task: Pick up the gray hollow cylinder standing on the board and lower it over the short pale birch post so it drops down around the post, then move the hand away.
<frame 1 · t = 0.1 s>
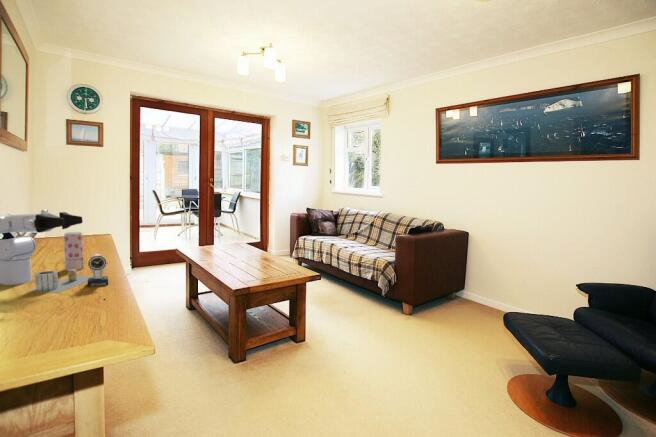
hand: (73, 220, 114), 22 cm above the table, tool horizontal, fingers open, 7 cm apart
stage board: (67, 286, 116), on the table
gray hollow cylinder: (47, 288, 110), point 1 cm above the table, touching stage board
watch: (98, 288, 116), on the table
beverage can: (74, 272, 136), on the table
post: (72, 280, 119), resting on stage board
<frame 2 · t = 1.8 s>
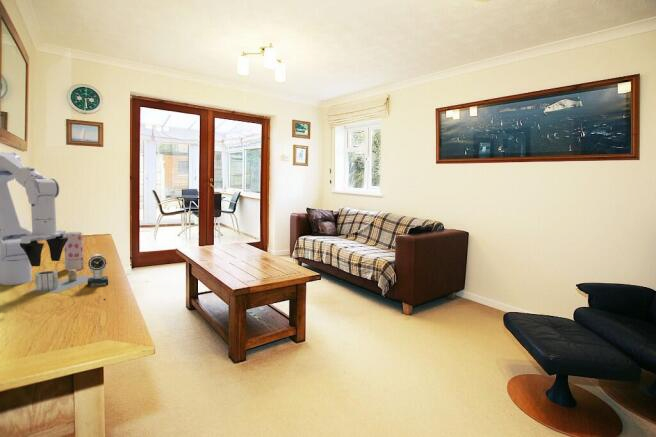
hand: (46, 263, 109), 9 cm above the table, tool pointing down, fingers open, 7 cm apart
nothing on the table moved.
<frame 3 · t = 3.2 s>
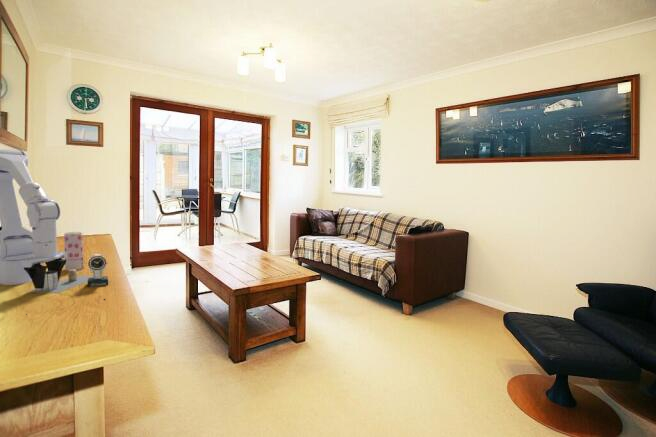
hand: (46, 285, 110), 2 cm above the table, tool pointing down, fingers closed on gray hollow cylinder, 5 cm apart
gray hollow cylinder: (47, 288, 110), point 1 cm above the table, touching gripper, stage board
everything else where it was.
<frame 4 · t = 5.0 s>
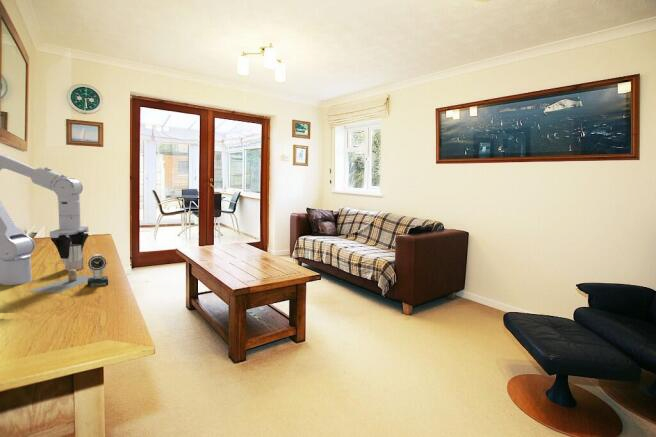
hand: (71, 256, 118), 9 cm above the table, tool pointing down, fingers closed on gray hollow cylinder, 5 cm apart
gray hollow cylinder: (71, 260, 118), point 8 cm above the table, touching gripper
everything else where it was.
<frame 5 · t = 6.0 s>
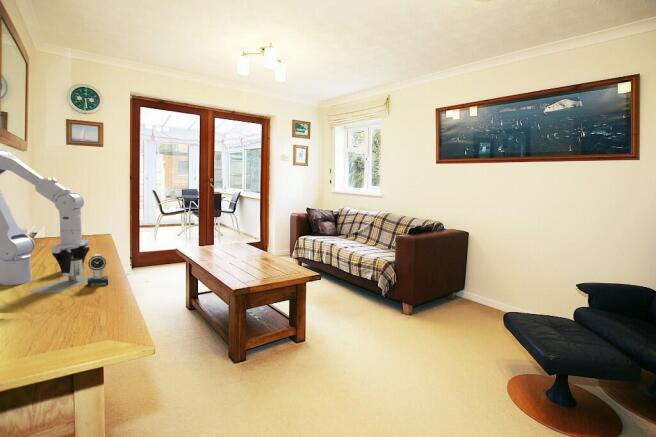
hand: (72, 270, 119), 5 cm above the table, tool pointing down, fingers closed on gray hollow cylinder, 5 cm apart
gray hollow cylinder: (72, 274, 119), point 3 cm above the table, touching gripper
everything else where it was.
when the fingers open (5 cm above the table, at t = 6.8 s): gray hollow cylinder drops 2 cm, resting on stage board.
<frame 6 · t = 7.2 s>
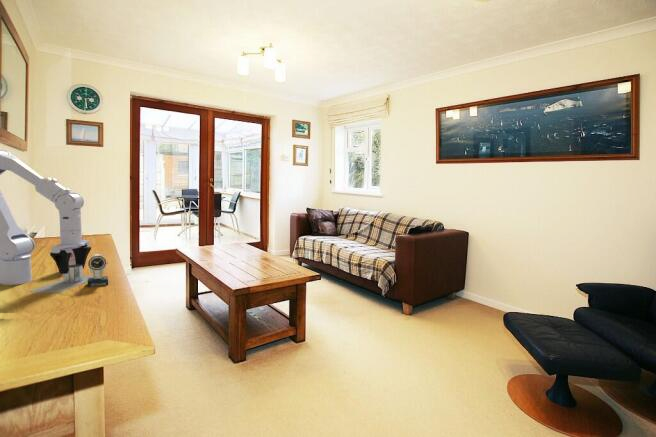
hand: (72, 270, 119), 5 cm above the table, tool pointing down, fingers open, 7 cm apart
gray hollow cylinder: (73, 280, 119), point 1 cm above the table, touching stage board
everything else where it was.
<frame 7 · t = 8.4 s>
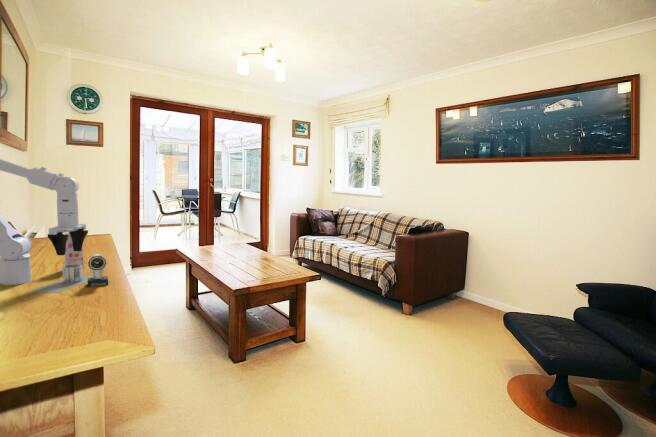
hand: (69, 253, 122), 10 cm above the table, tool pointing down, fingers open, 7 cm apart
nothing on the table moved.
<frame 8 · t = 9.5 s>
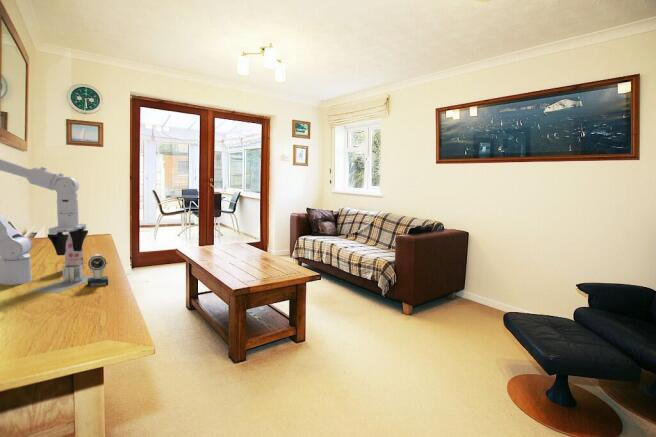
hand: (69, 253, 122), 10 cm above the table, tool pointing down, fingers open, 7 cm apart
nothing on the table moved.
at the end: gray hollow cylinder 0.1 cm from the post (horizontally); gray hollow cylinder point 1.2 cm above the table; the gripper is holding nothing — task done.
